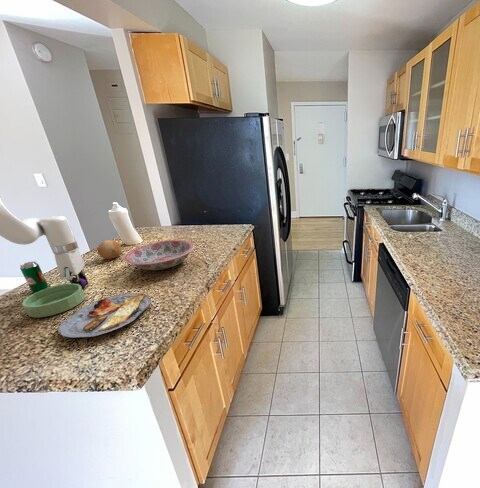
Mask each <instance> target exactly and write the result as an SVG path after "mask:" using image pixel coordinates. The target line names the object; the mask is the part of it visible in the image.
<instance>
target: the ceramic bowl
mask: <svg viewBox="0 0 480 488" xmlns="http://www.w3.org/2000/svg"><path fill="white" fill-rule="evenodd" d="M194 249H195V244H194V243H193V242H192V241H191V240H186V239H167V240H160V241H155V242H151V243H147V244H143V245H140V246H138V247H136V248H134V249H132V250H130V251H128V252H127V253H126V254H125V255H124V261H125V262H126V263H127V264H129V265H130V264H131V265H133V266H135V267H137V268H139V269H142V270H146V271H160V270H166V269H170V268H174V267H176V266H177V265H180V264H181V263H183V262H184V261H185V260H186V259H187V258H188V256H189V255H190V253H191V252H192V251H193V250H194Z"/></svg>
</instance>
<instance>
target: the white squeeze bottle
mask: <svg viewBox="0 0 480 488" xmlns="http://www.w3.org/2000/svg"><path fill="white" fill-rule="evenodd" d="M107 212H108V213H107V214H108V218H109V220H110V222H111V224H112V226H113V228H114V230H115V231H116V233H117V234H118V236H119V238H120V241H122V243H124V245H126V246H132V245H138V244H140V243H142V242H143V241H144V240H143V238H142V237H141V235H140V234H139V233H138V231H137V230H136V229H135V228H134V226H133V224H132V220H131V219H130V215H129V210H128V209H127V208H126V207H122V206H121V205H120V204H119V203H118V202H112V206H111V209H110V210H108V211H107Z"/></svg>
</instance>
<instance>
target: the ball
mask: <svg viewBox="0 0 480 488" xmlns="http://www.w3.org/2000/svg"><path fill="white" fill-rule="evenodd" d="M79 279H80V280H81V281H82V284H83V286H84V287H86V285H87V284H86V280H84V279H82V278H79Z"/></svg>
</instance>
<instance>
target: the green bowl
mask: <svg viewBox="0 0 480 488" xmlns="http://www.w3.org/2000/svg"><path fill="white" fill-rule="evenodd" d="M85 299H86V294H85V292H84V289H82V287H81V285H79V284H74V283H72V284H71V283H64V284H63V283H62V284H57V285H53V286H50V287H48V288H47V289H44V290H41V291H39V292H33V293H32V294H30V295H28V296H27V297H25V298H24V299H23V300H22V303H21V305H22V307H23V310H24V311H25V313H26V315H27V316H28V317H29V318H46V317H51V316H54V315H57V314H61V313H64V312H66V311H68V310H71V309H73V308H75V307H76V306H78V305H80V304H81V303H82V302H84V300H85Z"/></svg>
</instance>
